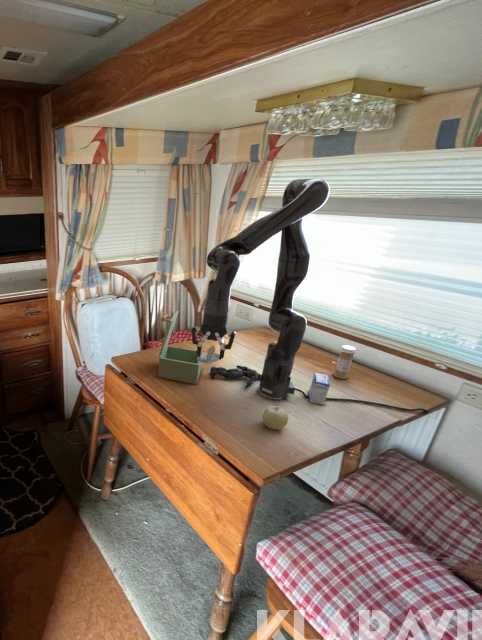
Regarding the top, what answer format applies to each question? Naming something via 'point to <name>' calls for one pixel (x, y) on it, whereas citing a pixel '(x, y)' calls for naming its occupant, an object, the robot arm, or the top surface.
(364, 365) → the top surface
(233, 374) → the robot figurine
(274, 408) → the fruit
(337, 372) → the sprinkles bottle
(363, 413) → the top surface
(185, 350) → the chest
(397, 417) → the top surface
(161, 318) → the lid
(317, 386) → the medicine box
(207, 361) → the pacifier
